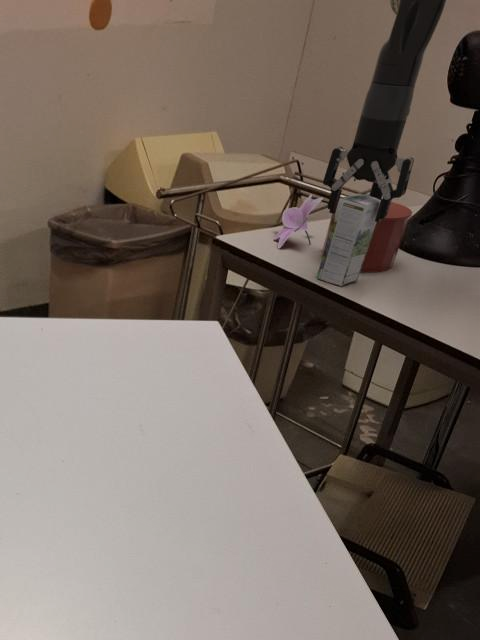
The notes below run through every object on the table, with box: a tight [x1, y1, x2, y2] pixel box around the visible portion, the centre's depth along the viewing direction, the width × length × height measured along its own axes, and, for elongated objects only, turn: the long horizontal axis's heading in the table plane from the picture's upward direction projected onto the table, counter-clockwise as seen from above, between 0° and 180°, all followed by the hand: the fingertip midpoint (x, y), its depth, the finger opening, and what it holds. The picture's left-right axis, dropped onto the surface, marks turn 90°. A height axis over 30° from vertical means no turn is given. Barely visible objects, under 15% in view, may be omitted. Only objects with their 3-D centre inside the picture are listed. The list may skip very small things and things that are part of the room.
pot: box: [321, 212, 409, 273], centre depth 167 cm, size 14×19×10 cm
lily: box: [272, 193, 324, 250], centre depth 175 cm, size 12×12×10 cm
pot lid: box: [368, 181, 413, 221], centre depth 162 cm, size 15×15×6 cm
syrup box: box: [316, 193, 382, 287], centre depth 156 cm, size 6×6×14 cm
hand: (355, 216), depth 153 cm, fingers open, 8 cm apart
